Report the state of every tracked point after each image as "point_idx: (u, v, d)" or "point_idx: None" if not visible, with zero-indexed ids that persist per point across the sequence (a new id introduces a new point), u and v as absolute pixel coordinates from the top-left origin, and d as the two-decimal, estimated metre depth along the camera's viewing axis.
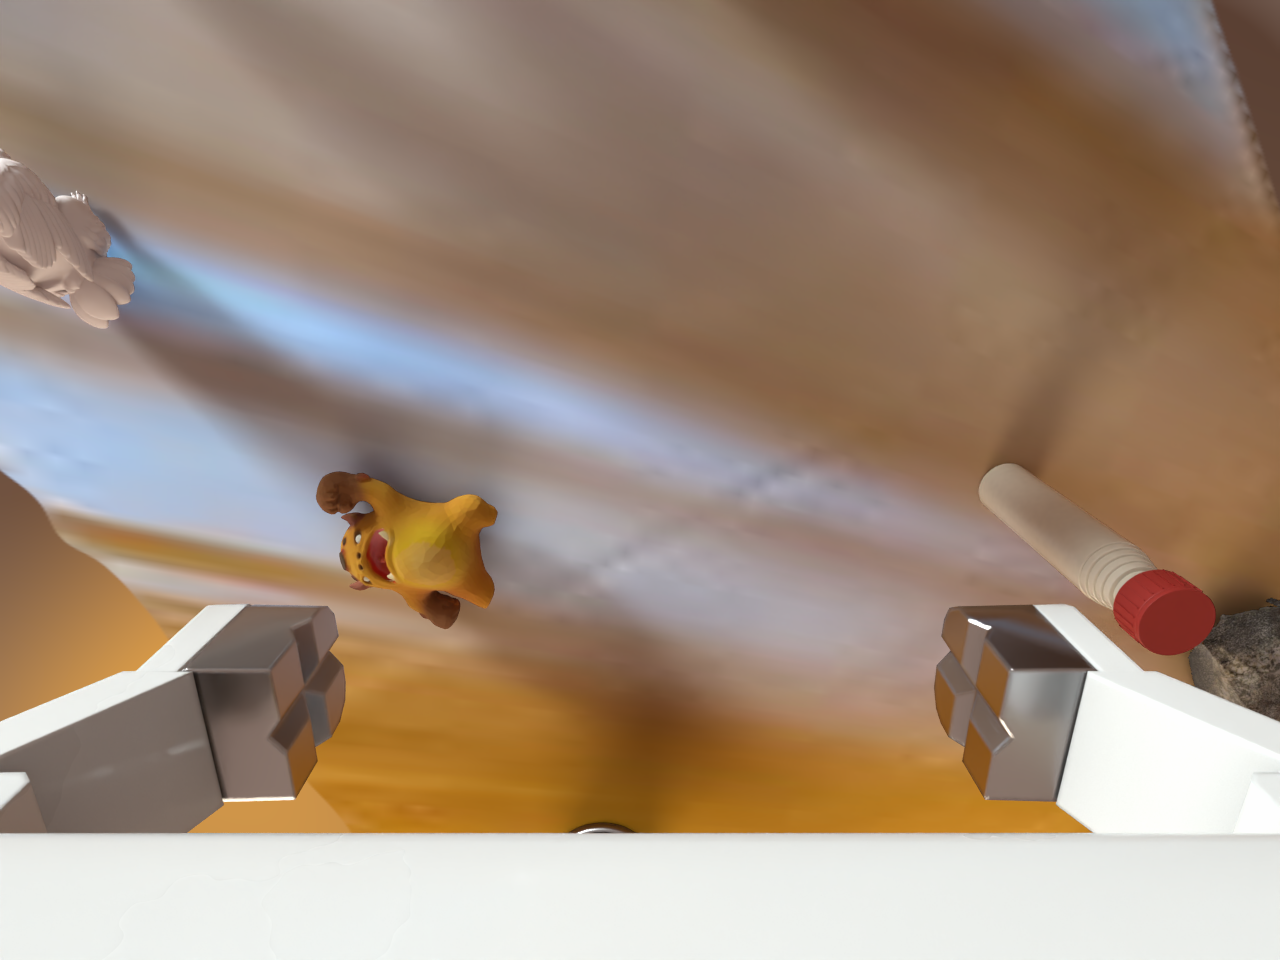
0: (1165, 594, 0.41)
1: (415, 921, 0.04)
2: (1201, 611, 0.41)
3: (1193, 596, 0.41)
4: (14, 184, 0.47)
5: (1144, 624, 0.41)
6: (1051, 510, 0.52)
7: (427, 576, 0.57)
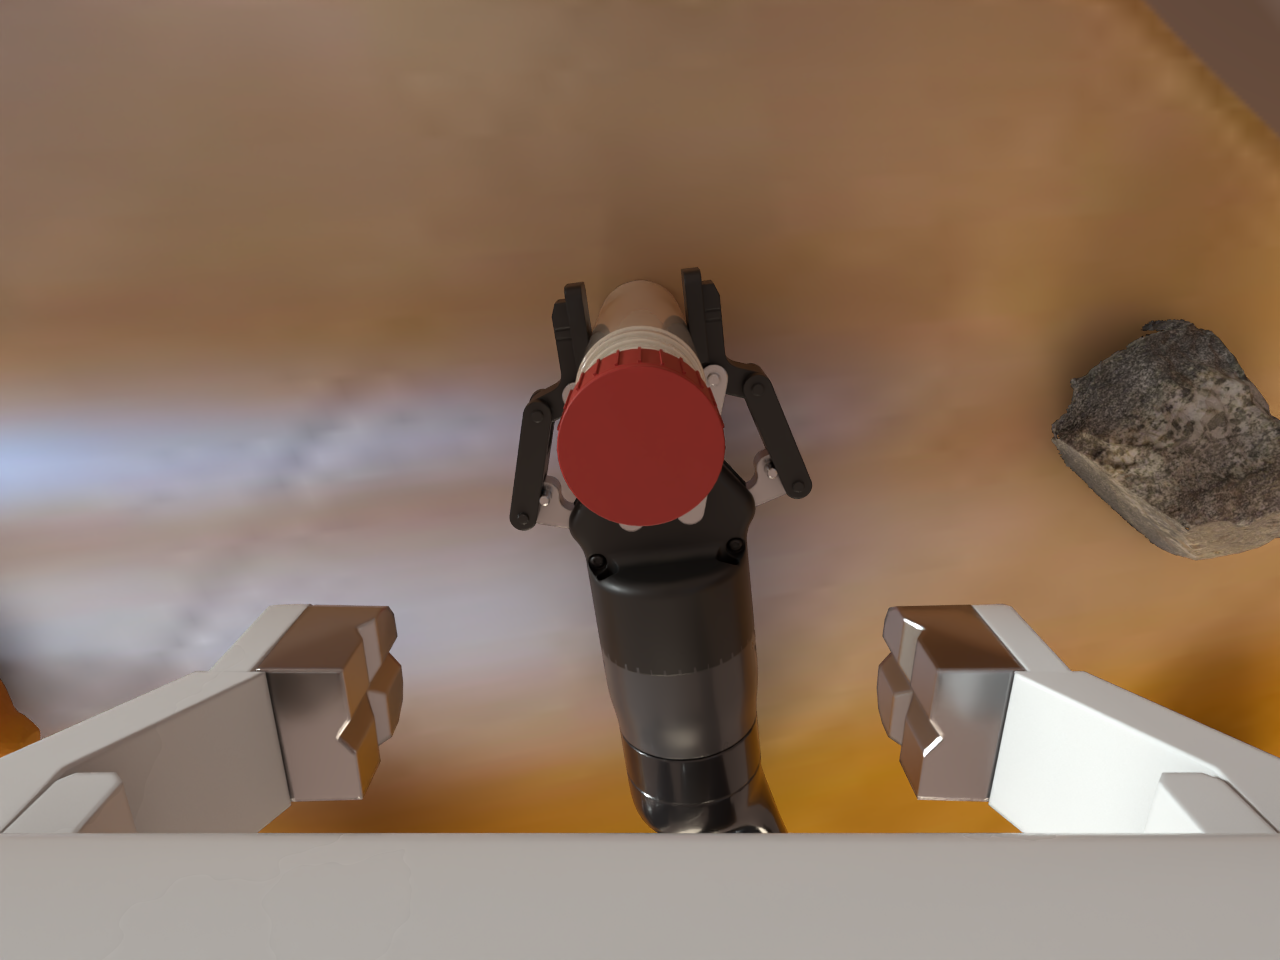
0: (573, 400, 0.18)
1: (416, 921, 0.04)
2: (674, 405, 0.18)
3: (633, 381, 0.18)
4: None
5: (577, 478, 0.19)
6: (595, 327, 0.29)
7: None
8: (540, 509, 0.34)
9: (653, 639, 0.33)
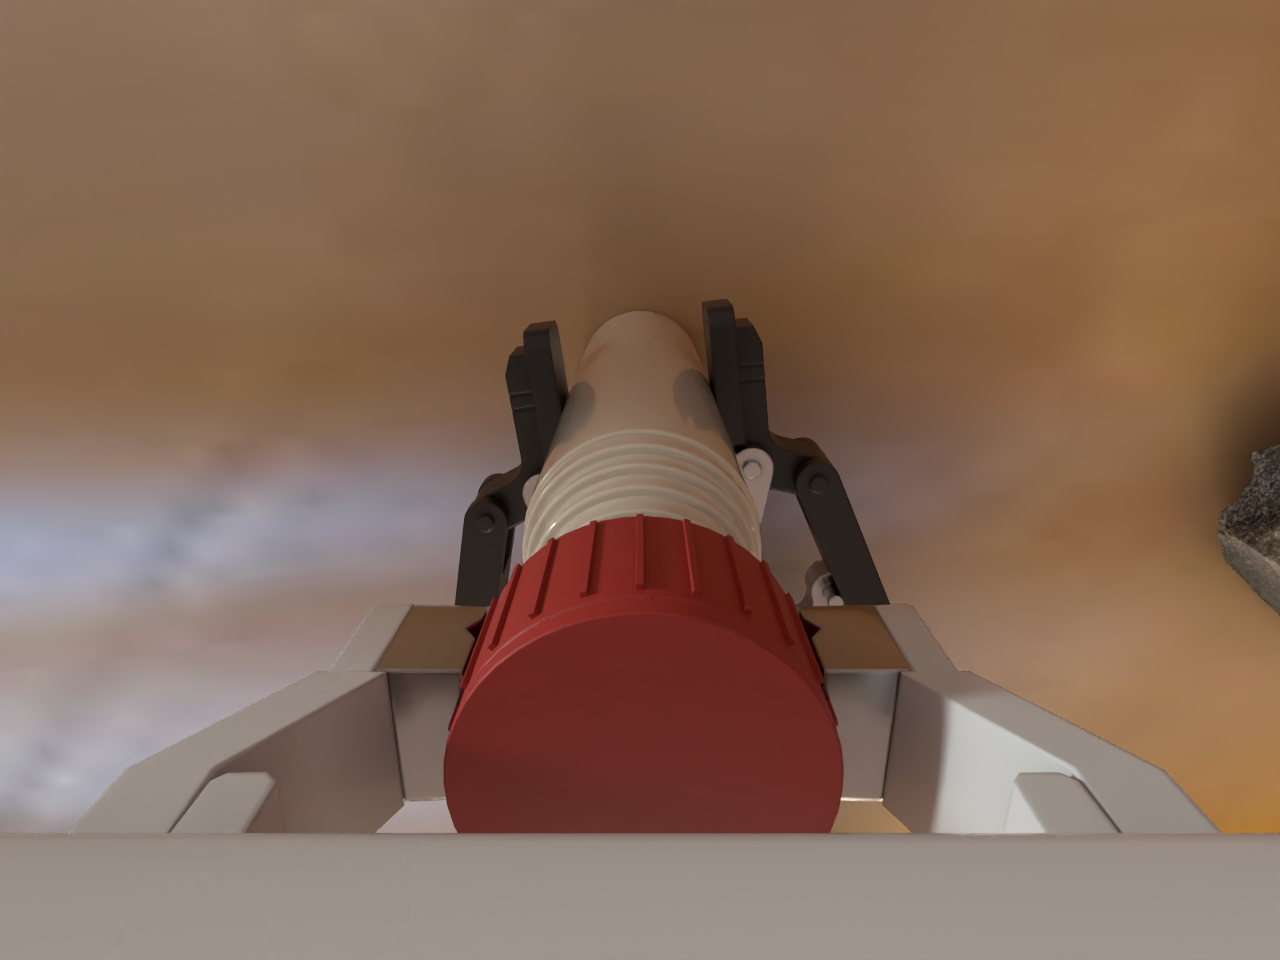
0: (478, 687, 0.07)
1: (415, 921, 0.04)
2: (725, 698, 0.07)
3: (624, 646, 0.07)
4: None
5: None
6: (569, 398, 0.18)
7: None
8: None
9: None
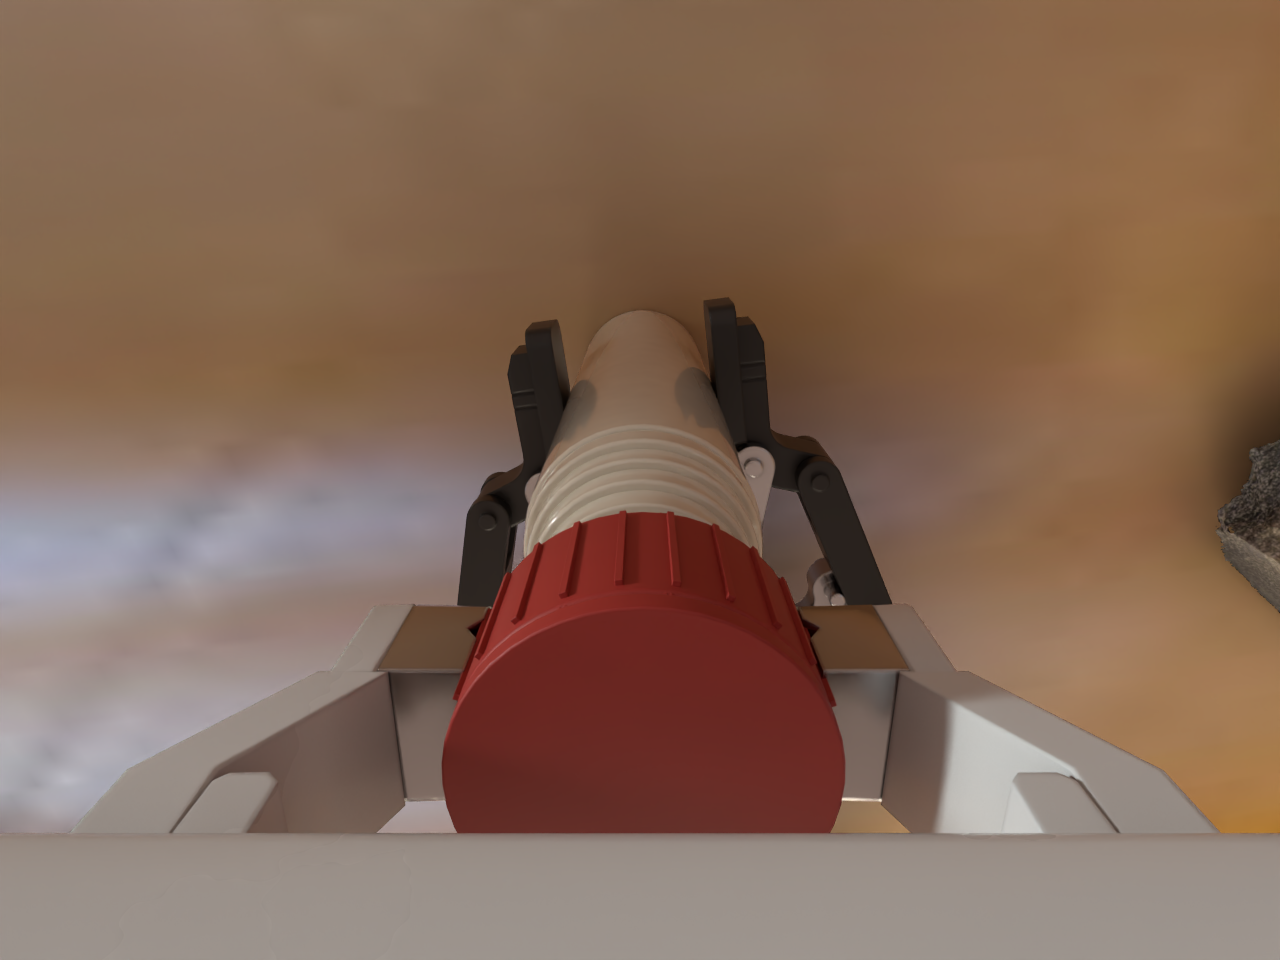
0: None
1: (415, 921, 0.04)
2: (540, 710, 0.07)
3: (475, 786, 0.08)
4: None
5: None
6: (571, 396, 0.18)
7: None
8: None
9: None
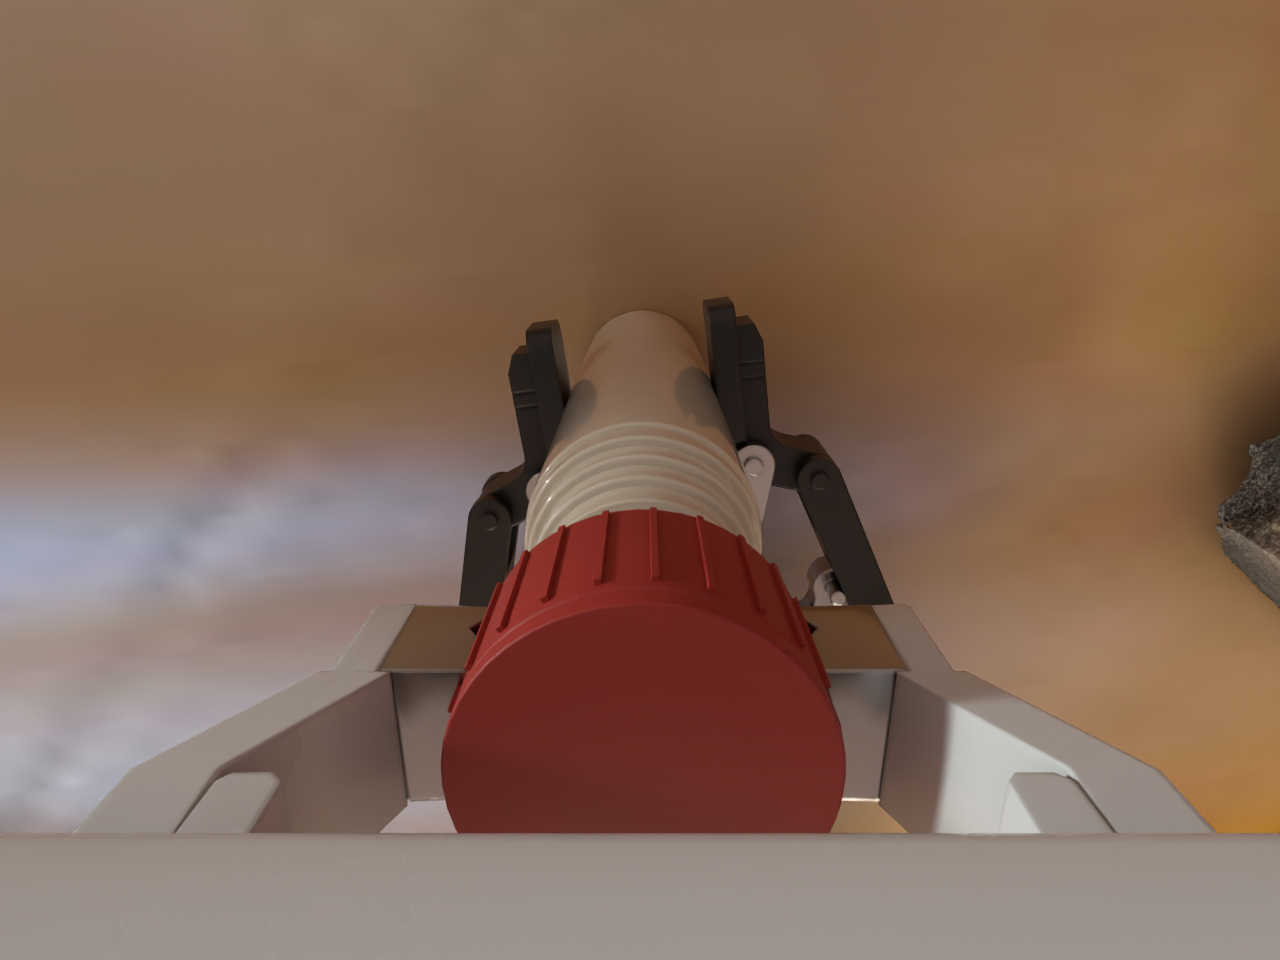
0: None
1: (415, 921, 0.04)
2: None
3: None
4: None
5: (814, 750, 0.08)
6: (572, 395, 0.19)
7: None
8: None
9: None
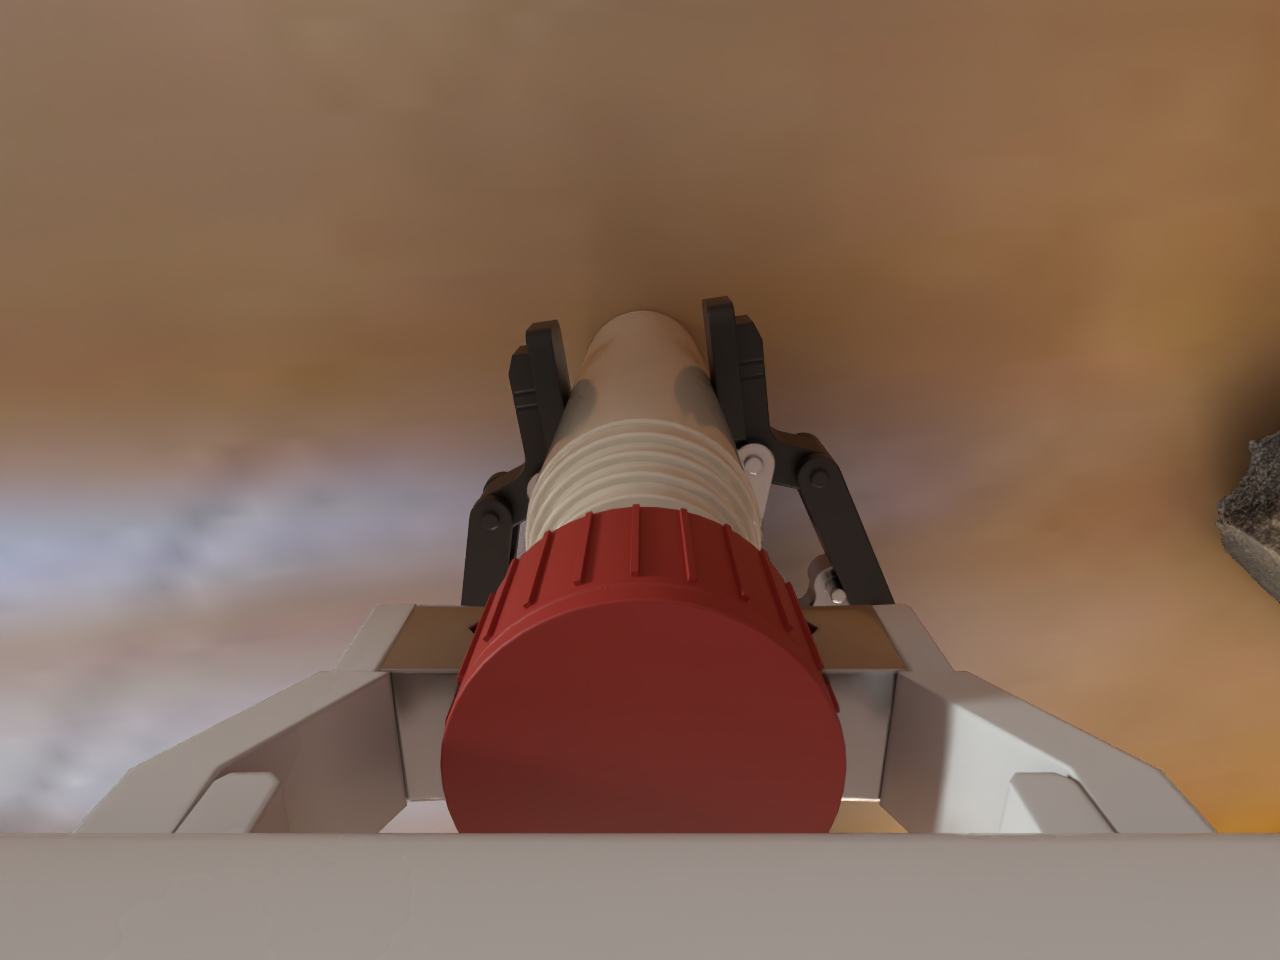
0: (814, 681, 0.07)
1: (415, 921, 0.04)
2: None
3: (805, 809, 0.08)
4: None
5: (619, 629, 0.07)
6: (571, 394, 0.19)
7: None
8: None
9: None
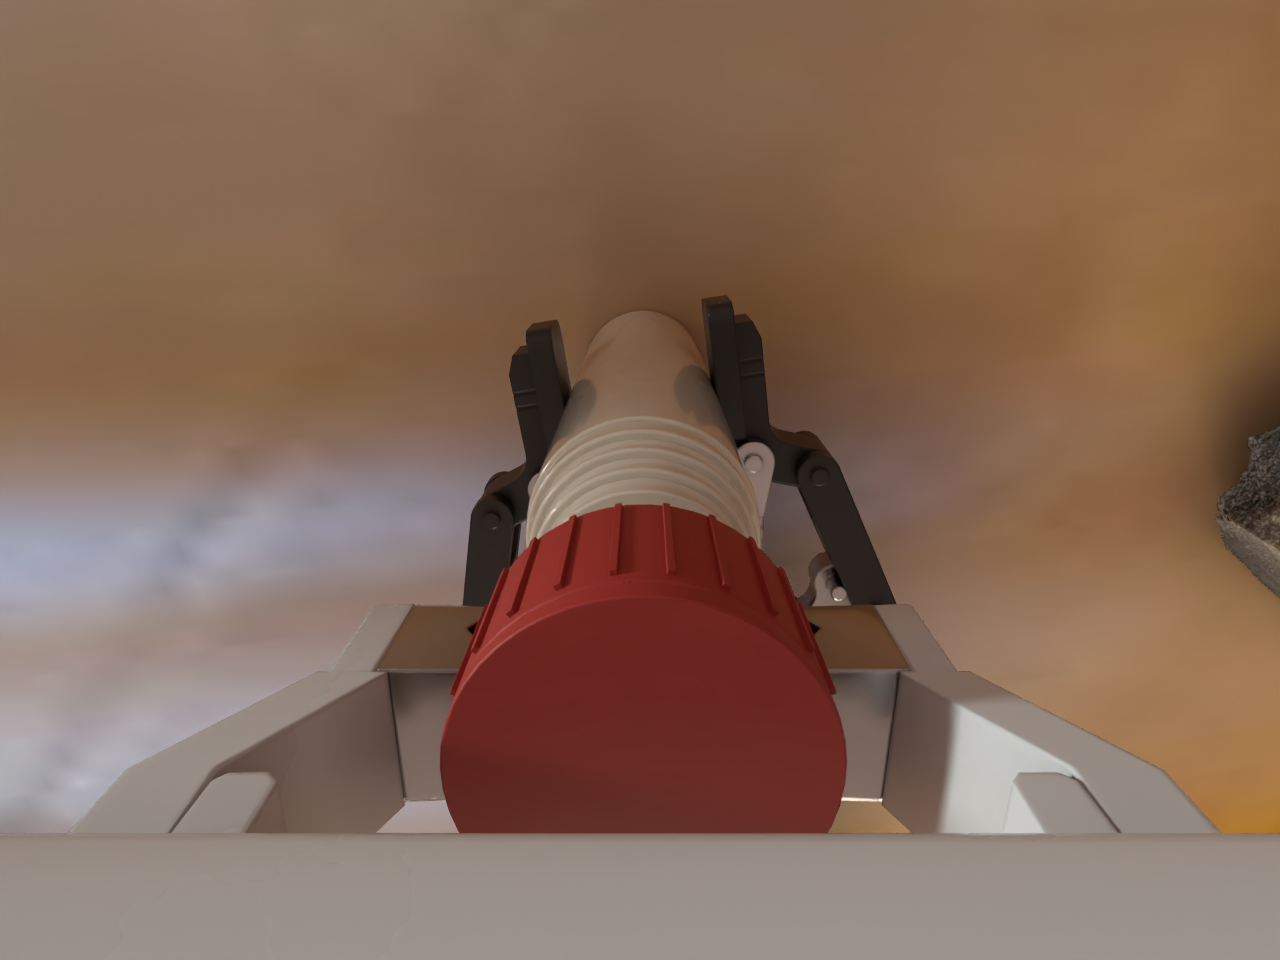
0: (539, 622, 0.07)
1: (415, 921, 0.04)
2: (763, 721, 0.07)
3: (699, 637, 0.07)
4: None
5: (470, 780, 0.08)
6: (572, 394, 0.19)
7: None
8: None
9: None
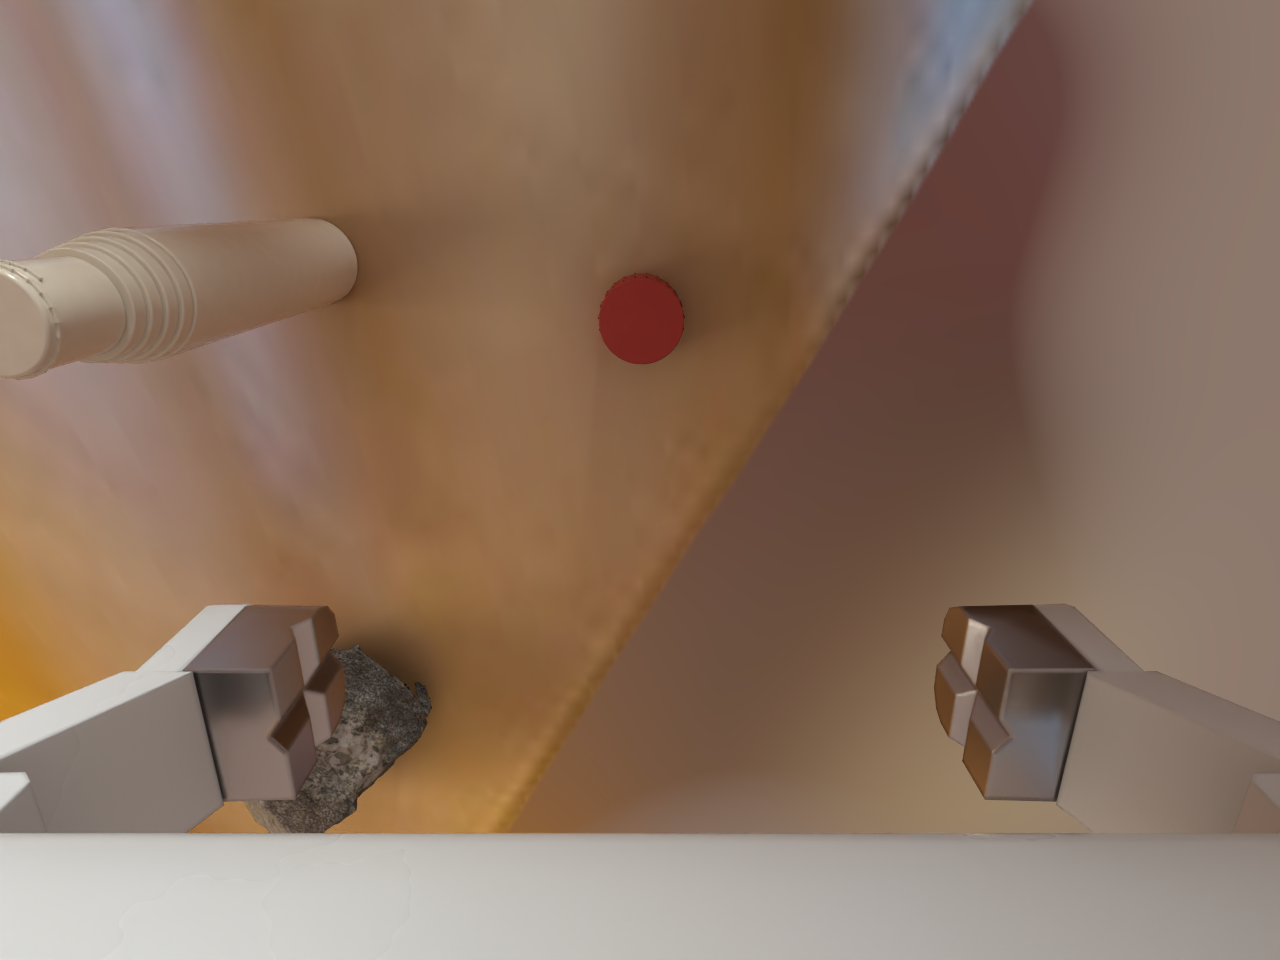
0: (620, 284, 0.36)
1: (415, 921, 0.04)
2: (665, 307, 0.36)
3: (652, 287, 0.36)
4: None
5: (605, 323, 0.37)
6: (239, 229, 0.29)
7: None
8: None
9: None
